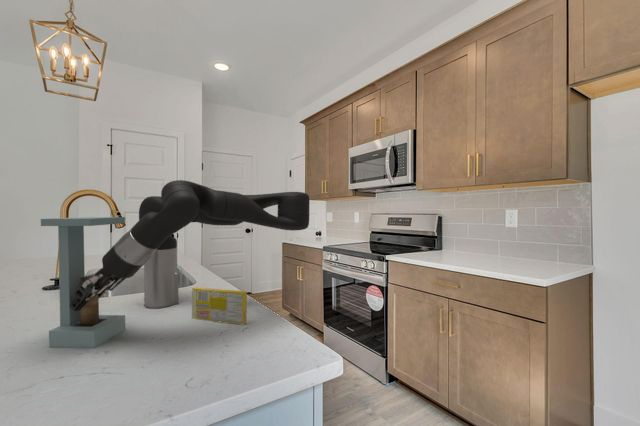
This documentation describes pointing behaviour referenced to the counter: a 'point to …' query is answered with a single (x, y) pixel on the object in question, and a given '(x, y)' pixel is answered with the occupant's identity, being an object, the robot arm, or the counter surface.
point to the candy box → (219, 305)
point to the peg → (90, 310)
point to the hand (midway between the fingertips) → (81, 305)
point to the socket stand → (69, 281)
